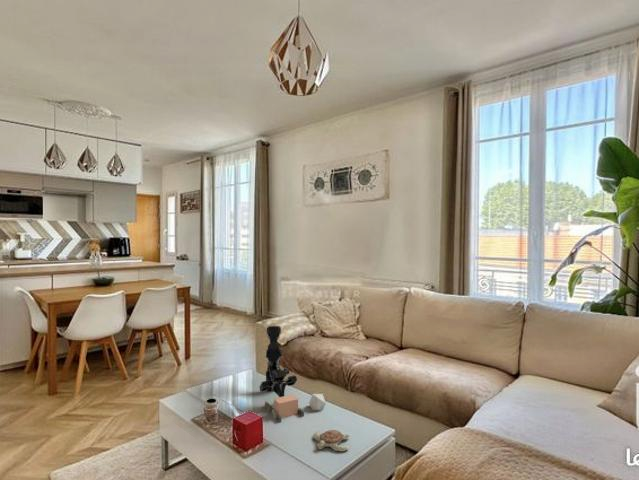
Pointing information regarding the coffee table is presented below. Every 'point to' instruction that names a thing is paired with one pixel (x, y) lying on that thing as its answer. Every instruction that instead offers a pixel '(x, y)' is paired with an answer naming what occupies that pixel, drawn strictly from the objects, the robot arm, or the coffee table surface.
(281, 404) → the block
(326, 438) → the decorative turtle
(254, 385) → the coffee table surface
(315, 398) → the die
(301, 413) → the track
